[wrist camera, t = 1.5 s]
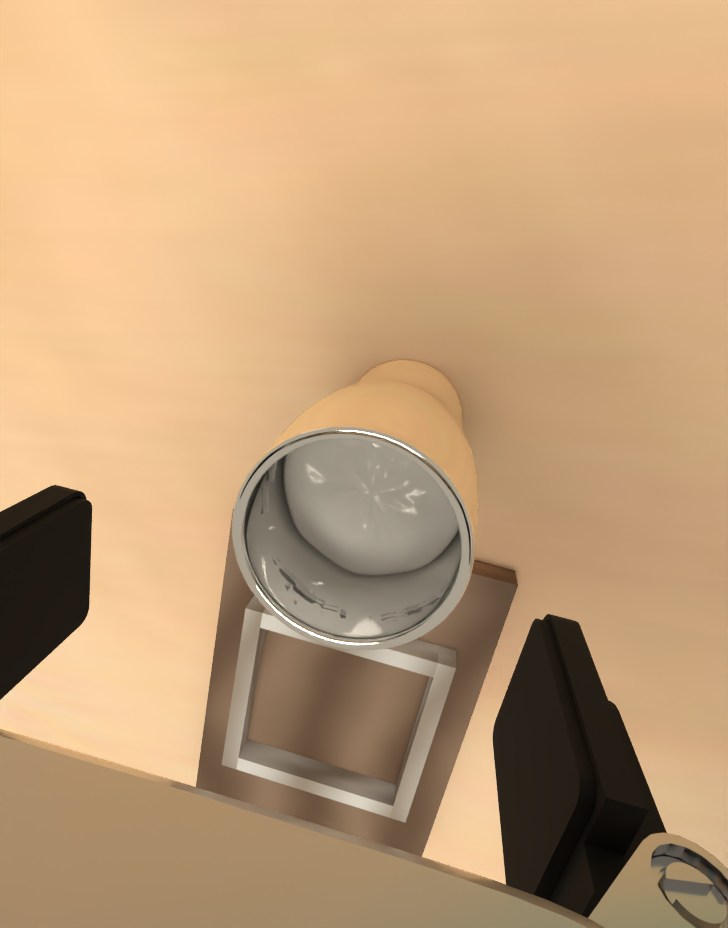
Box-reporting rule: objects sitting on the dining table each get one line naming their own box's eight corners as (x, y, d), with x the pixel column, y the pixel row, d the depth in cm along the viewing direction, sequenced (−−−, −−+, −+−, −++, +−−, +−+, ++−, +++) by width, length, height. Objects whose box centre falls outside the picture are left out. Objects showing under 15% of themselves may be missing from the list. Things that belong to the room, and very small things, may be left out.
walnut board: (515, 571, 30) (520, 600, 27) (420, 841, 37) (417, 886, 34) (243, 499, 31) (221, 519, 28) (205, 772, 39) (185, 810, 36)
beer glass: (344, 480, 30) (242, 652, 16) (333, 354, 28) (204, 422, 14) (471, 479, 29) (484, 664, 15) (470, 346, 27) (482, 413, 12)
